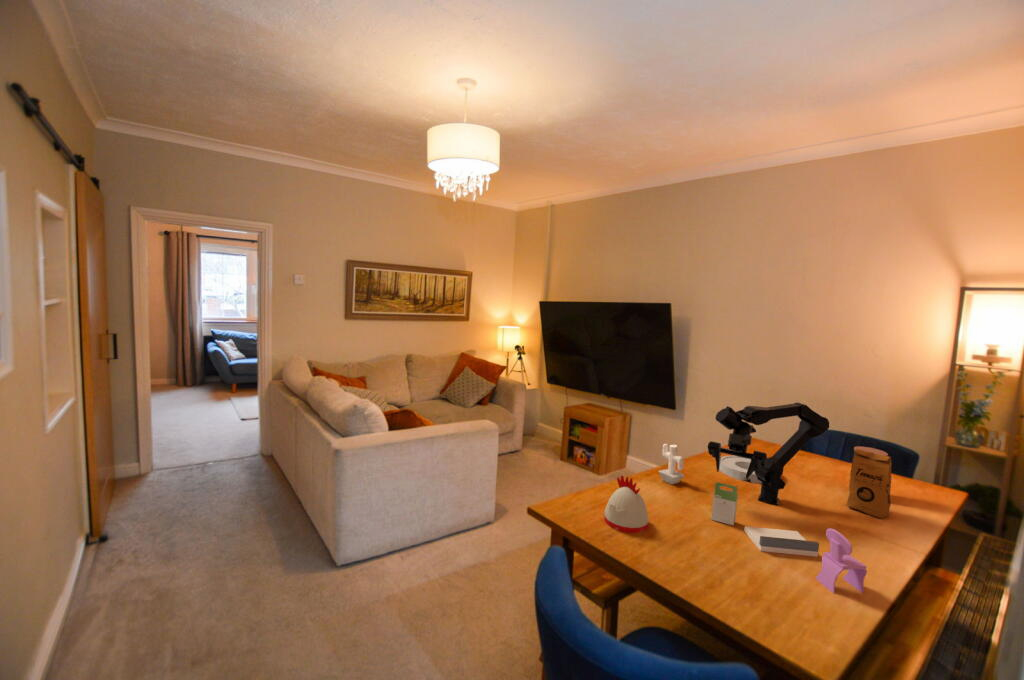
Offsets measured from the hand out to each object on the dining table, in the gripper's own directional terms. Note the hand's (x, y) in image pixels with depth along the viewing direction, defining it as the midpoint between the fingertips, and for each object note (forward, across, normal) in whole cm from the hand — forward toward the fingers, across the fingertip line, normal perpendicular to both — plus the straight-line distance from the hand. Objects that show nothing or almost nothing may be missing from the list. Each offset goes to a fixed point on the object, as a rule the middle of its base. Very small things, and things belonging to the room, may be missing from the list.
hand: (731, 474), depth 159 cm
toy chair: (+28, +32, -9) cm, 44 cm away
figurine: (0, -24, +20) cm, 31 cm away
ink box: (+16, 0, +4) cm, 16 cm away
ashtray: (-24, -1, +44) cm, 50 cm away
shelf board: (+18, +17, +1) cm, 25 cm away
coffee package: (-16, +40, +36) cm, 56 cm away
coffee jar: (-30, +40, +49) cm, 70 cm away
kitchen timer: (+32, -25, -12) cm, 42 cm away
